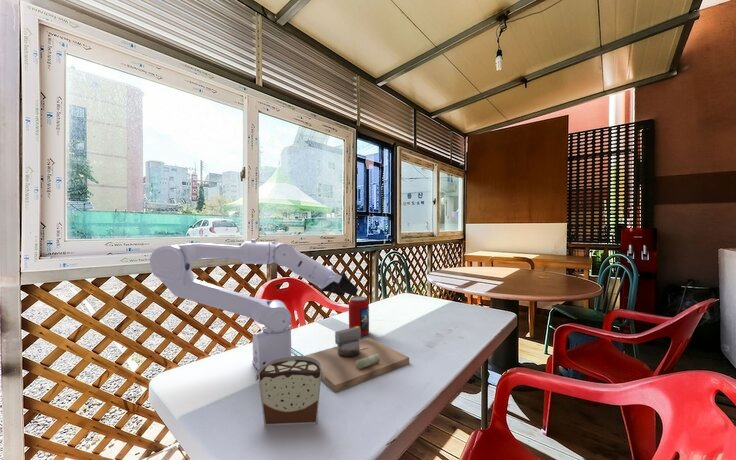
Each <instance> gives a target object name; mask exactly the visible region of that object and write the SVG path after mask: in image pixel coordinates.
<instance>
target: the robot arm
mask: <svg viewBox="0 0 736 460" xmlns="http://www.w3.org/2000/svg"><path fill="white" fill-rule="evenodd" d="M202 259H239V260H240V261H241V262H242V263H243V264H245V265H249V264H250V265H271V264H273V263H275V264H277V266H280V267H285V268H287V269H289V270H290V271H291V272H292V273H294V274H295V275H297V276H299V277H301V278H302V279H304V280H306V281H308V282H309V283H312V284H313V285H315V286H317V287H318V288H319V291H320V292H325V293H331V294H334V295H337V296H341V297H344V296H345V294H347V295H349V296H352V297H356V296H357V293H358V291H359V288H357V287H356V285H354V284H353V282H351V281H350V279H349V278H348V276H347V274H346V273H345V271H341V272H340V274H338V273H337V272H335V271H334V270H333V269H334V266H333V265H329V266H328V267H327V266H325V265H323V264H321V263H320V262H318V261H317V260H315V259H314V258H312V257H310V256H308V255H306V254H305V253H301V252H300V251H299V250H298V249H297V250H296V249H295V248H294V247H293V246H292V245H291V244H288V243H284V242H277V243H276V240H271V242H268V241H267V242H266V241H257V239H252V238H251V239H250V241H246V240H245V241H244V242H243V243H241V245H231V244H230V245H229V244H219V243H218V244H216V243H203V242H202V243H201V242H195V243H194V242H193V243H183V244H178V243H176V244H174V243H173V244H169V245H164V246H163V245H162V246H159V247H158V248H156V249H154V251H152V253H151V254H150V257H149V264H150V267H151V271H152V274H153V276H154V277H156V278H158V279H159V280H160V281H161V282H162V284H163V285H164V286H165V287H166V288H167V289H168V290H169V292H171V294H172V295H174V296H175V297H177V298H180V299H184V300H187V301H191V302H195V303H198V304H201V305H205V306H209V307H212V308H216V309H219V310H221V311H224V312H225V311H226V312H229V313H233V314H236V315H240V316H244V317H247V318H250V319H252V320H253V321H255V322H256V323H257V324H261V325H263V326H262V330H260V331H258V332H256V333H255V332H254V333H253V335H252V361H251V362H252V365H254V366H255V368H256V369H257V371H258V370H259V369H260V368H261V367H262V366H263V365H265V364H266V363H268V362H270V361H273V360H275V359H278V358H282V357H288V356H292V353H291V351H292V349H291V347H292V324H291V322H292V314H291V312H290V310H289V309H288V308H287V305H286V303H285V302H284V301H282V300H279V299H272V300H269V299H264V298H256V297H253V296H250V295H247V294H244V293H241V292H238V291H234V290H231V289H227V288H224V287H221V286H218V285H215V284H213V283H208V282H206V281H202V280H200V279H196V278H195V276H194V274H193V270H192V268H191V264H192V263H194V262H197V261H199V260H202Z"/></svg>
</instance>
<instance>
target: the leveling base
mask: <svg viewBox="0 0 736 460" xmlns="http://www.w3.org/2000/svg"><path fill="white" fill-rule="evenodd" d="M359 345H360V353H359V354H358V355H356V356H352V357H343V356H340V355H338V354H337V346H335V347H331V348H327V349H324V350H319V351H316V352H312V353H309V354H306V355H304V356H308V357H312V358H315V359H317V360H318V361H319V362H320V363H321V366H322V367H323V372H324V376H325V379H323V375H322V373H321V382H323V383H324V384H325V385H326V386H328V387H329V389H330V390H332V391H333V392H334V393H337V392H339V391H342V390H344V389H347V388H349V387H353V386H355V385H357V384H360V383H362V382H363V383H364V382H365V381H367V380H369V379H370V380H371V379H373V378H376V377H378V376H380V375H383V374H386V373H388V372H390V371H393V370H395V369H398V368H401V367H404V366H406V365H409V364H410V356H407V355H405V354H404V353H400V352H399V351H397V350H394V349H392V348H391V347H389V346H386V345H385V344H382V343H380V342H379V341H376V340H374V339H373V338H370V337H364V338H361V339H359Z"/></svg>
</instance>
